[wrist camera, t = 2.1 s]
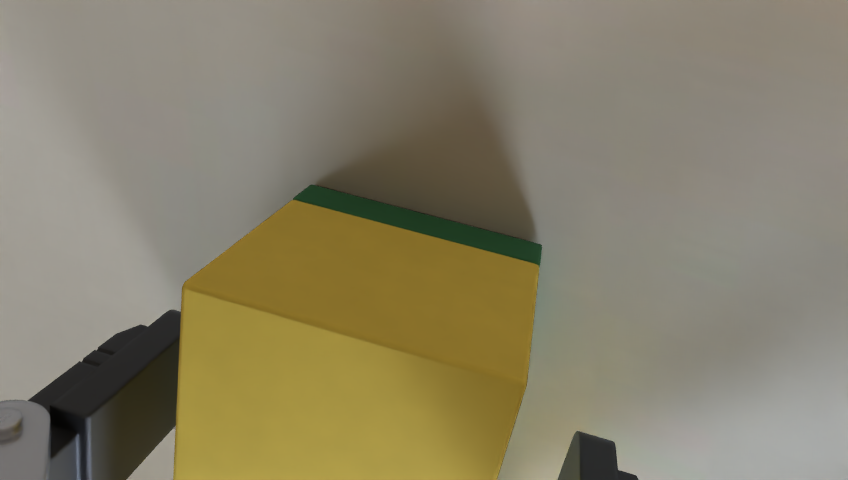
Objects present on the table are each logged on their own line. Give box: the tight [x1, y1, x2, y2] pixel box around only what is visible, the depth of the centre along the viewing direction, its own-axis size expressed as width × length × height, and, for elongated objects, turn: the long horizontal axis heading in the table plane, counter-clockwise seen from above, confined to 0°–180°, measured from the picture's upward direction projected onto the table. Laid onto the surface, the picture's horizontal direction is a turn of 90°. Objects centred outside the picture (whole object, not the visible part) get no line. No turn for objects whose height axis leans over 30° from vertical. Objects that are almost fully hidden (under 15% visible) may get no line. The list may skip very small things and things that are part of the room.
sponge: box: [173, 185, 542, 480], centre depth 12 cm, size 8×5×5 cm, turn 169°
